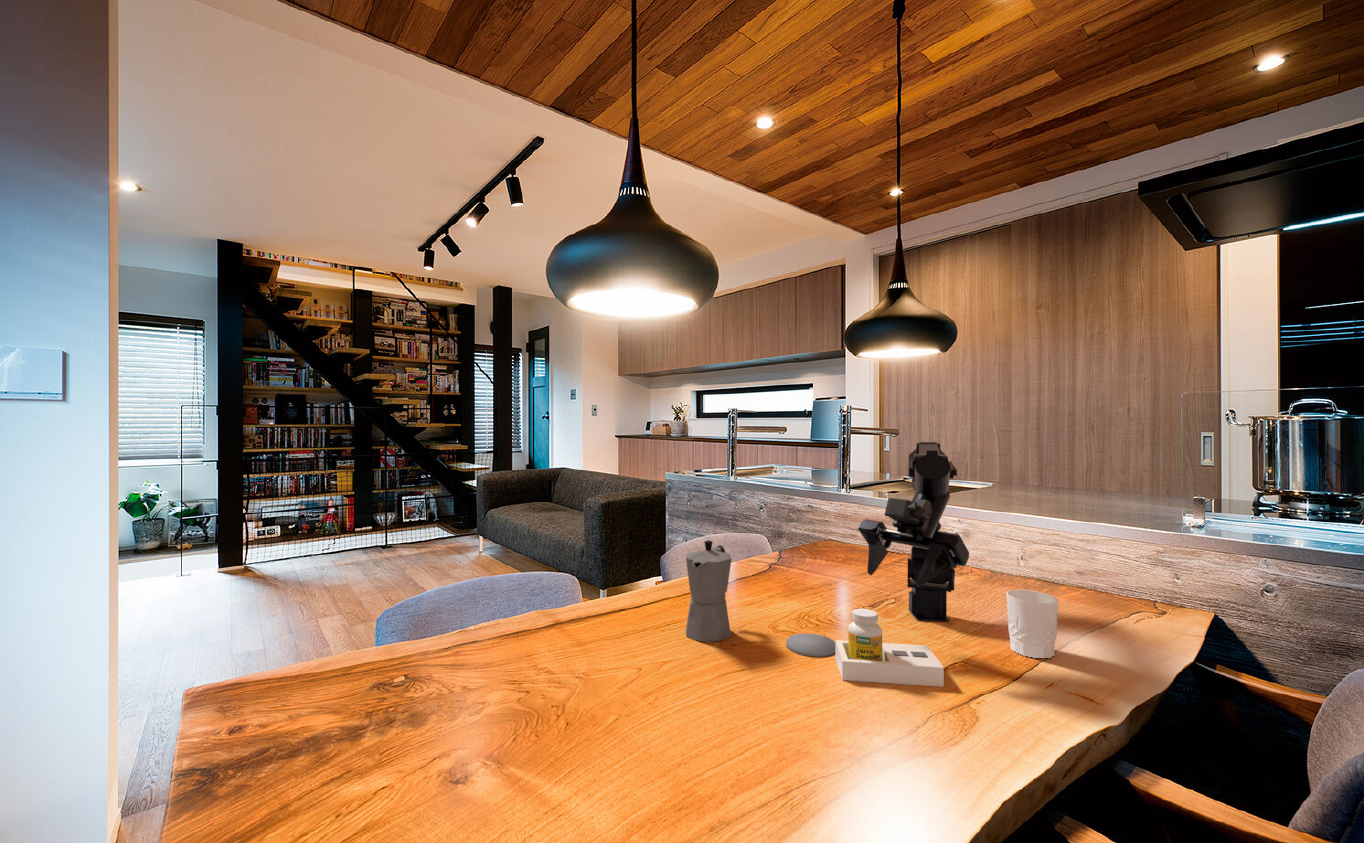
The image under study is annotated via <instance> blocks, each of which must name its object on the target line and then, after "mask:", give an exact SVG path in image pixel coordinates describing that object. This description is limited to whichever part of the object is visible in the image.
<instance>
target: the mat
mask: <svg viewBox="0 0 1364 843" xmlns="http://www.w3.org/2000/svg"><path fill="white" fill-rule="evenodd" d="M785 645H786V647H787V649H789V650H790V651H791V652H793V653H795V654H797V655H801V656H805V657H811V658H812V657H815V658H821V657H828V656H832V655H834V654H835V641H834V640H833V639H831V638H829V637H827V636H824V635H822V634H818V633H817V634H816V633H796V634H792V635H790V636H789V637H787V638H786V639H785Z"/></svg>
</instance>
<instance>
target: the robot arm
mask: <svg viewBox="0 0 1364 843" xmlns="http://www.w3.org/2000/svg"><path fill="white" fill-rule="evenodd" d="M915 444H916V448H915V449H914V450H913V451H912V452H911V453H909V454H908V469H907V470H908V478H911V487H912V488H913V489H914V490H915V493H914V495H913V497H912V499H911V500H908V499H901V498H893V497H889V498H887V502H886V506H885V511H884V514H883V515H884V516H885V517H888V518H890V519H892V522H891V524H892V525H893V527H894V528H896V529H897V530H892V529H891V530H890V529H888V528H887V526H886V525H885V524H884V522H883V521H880V520H874V519H873V520H872V519H863V520H862V521H861V523H860V524H859V526H858V528H857V530H858V531H859V533H860V535H861V536H862V537H863V539H864V540H865V542H866V543H867V545H868V558H867V559H868V560H867V562H868V563H867V573H868V575H869V576H872V575H873V574H875V572H876V571H877V569H878V568H879V567H880V565H881V563H882V562H883V561H884V559H885V558H886V556H887V555H888V553H889V551H888V548H890V547H891V545H892V543H897V544H901V545H908V546H910V547H911V553H910V555H911V557H910V558H907V588H908V589H909V588H911V591H909V592H908V611H909V612H910V613H911V614H912V616H913V617H914V618H915V620H916V621H926V622H944V623H945V622H946V623H947V622H948V623H949V622H950V618H949V617H948V615H947V613H948V611H947V609H948V608H947V605H948V604H947V599H948V597H947V592H948V593H952V591H955V580H956V577H955V576H956V568H957V566H961V567H964V566H967V563H968V561H969V558H970V551H969V549H968V548H967V545H966V544H965V543H964V542H965V541H964V540H963V539H962V537H961V536H960V534H959V533H954V532H947V531H940V530H941V528H942V524H941V523H940V520H941V518H942V516H943V514H944V512H945V509H946V508H947V505H948V502H949V500H950V498H951V494H950V492H949V488H950V480H953V479H954V477H955V476H958V473H957V472H958V469H957V468H956V467H955V466H954V464H953V462H952V460H951V461H950V460H949V456H948V455H947V454H945V453H944V451H943V450H941V443H940V442H939V443H938V442H937V441H936V442H935V441H919V442H916V443H915Z"/></svg>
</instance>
